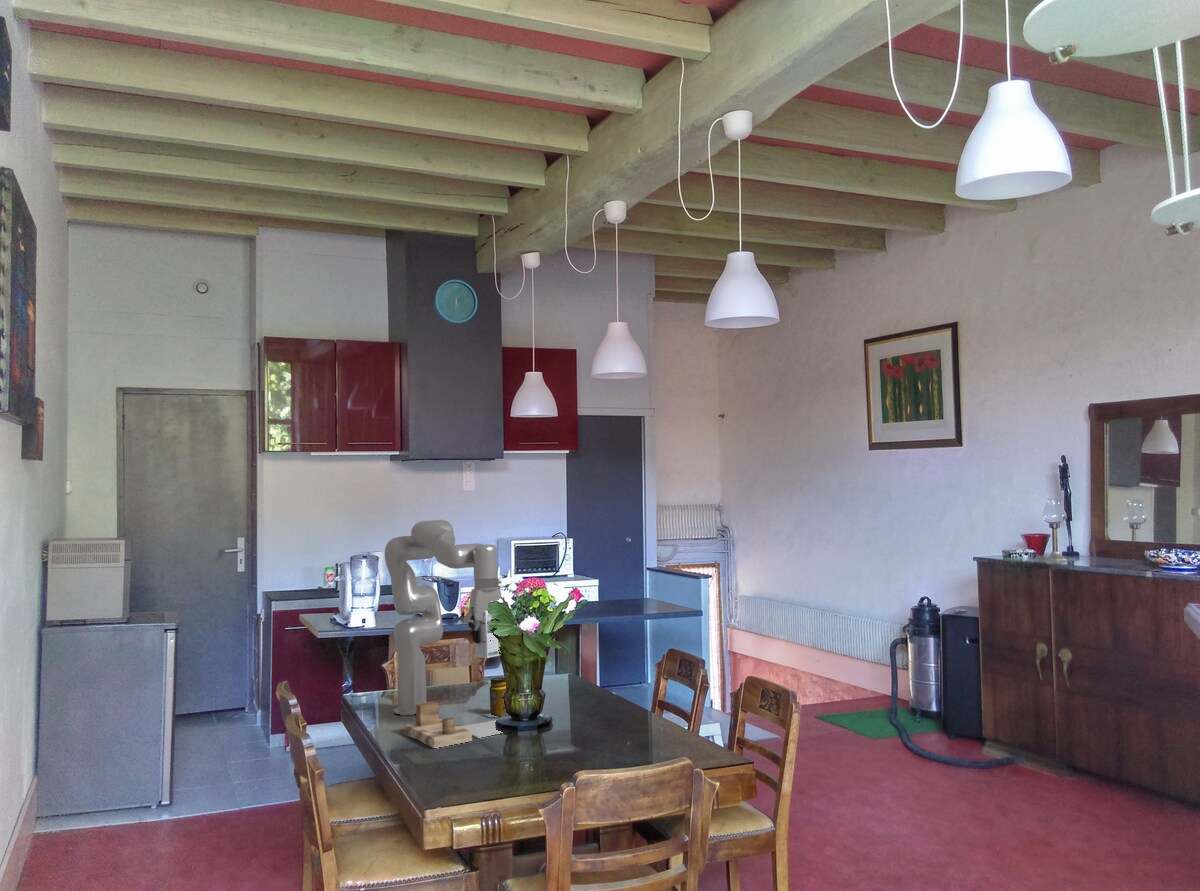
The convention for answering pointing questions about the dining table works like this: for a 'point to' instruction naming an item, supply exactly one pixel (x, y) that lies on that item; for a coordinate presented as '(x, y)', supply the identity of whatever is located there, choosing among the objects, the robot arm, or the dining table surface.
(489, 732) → the grey mat
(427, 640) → the robot arm
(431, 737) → the wooden frame with peg
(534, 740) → the dining table surface
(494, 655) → the syrup box
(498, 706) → the condiment
